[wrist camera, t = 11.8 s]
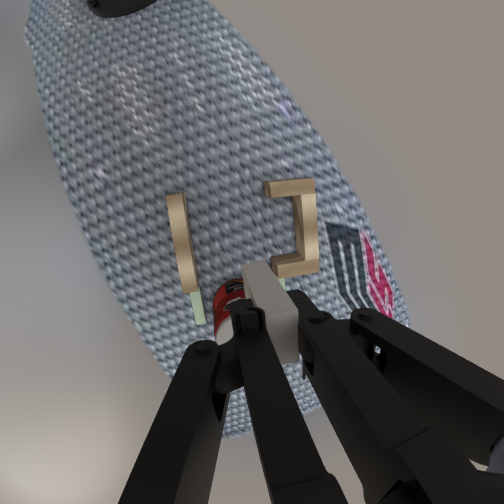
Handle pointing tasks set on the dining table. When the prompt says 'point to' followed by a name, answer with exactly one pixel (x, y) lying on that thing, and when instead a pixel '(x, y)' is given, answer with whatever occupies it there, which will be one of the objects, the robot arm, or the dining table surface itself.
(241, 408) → the dining table surface
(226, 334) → the canned food
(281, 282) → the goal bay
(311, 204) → the lane
